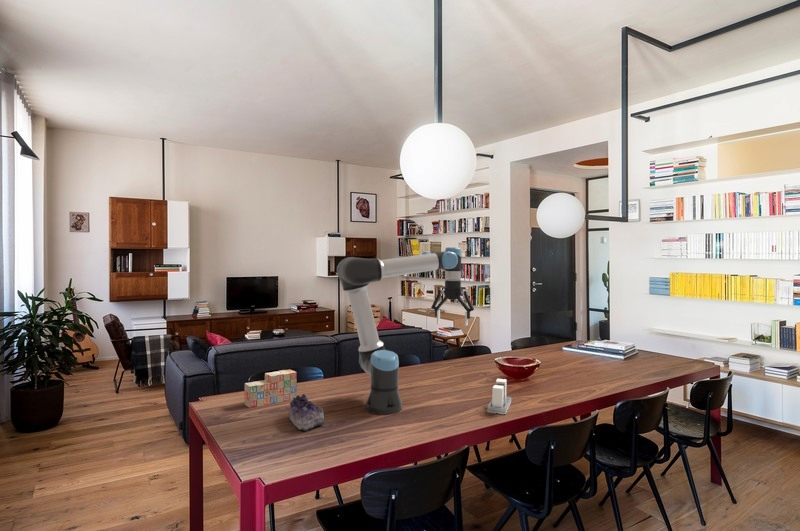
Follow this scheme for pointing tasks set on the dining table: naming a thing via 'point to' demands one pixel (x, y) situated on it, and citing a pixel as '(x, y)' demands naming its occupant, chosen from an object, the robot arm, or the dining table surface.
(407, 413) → the dining table surface
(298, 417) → the geode
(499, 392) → the block
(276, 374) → the stack of blocks
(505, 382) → the block
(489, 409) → the rail
